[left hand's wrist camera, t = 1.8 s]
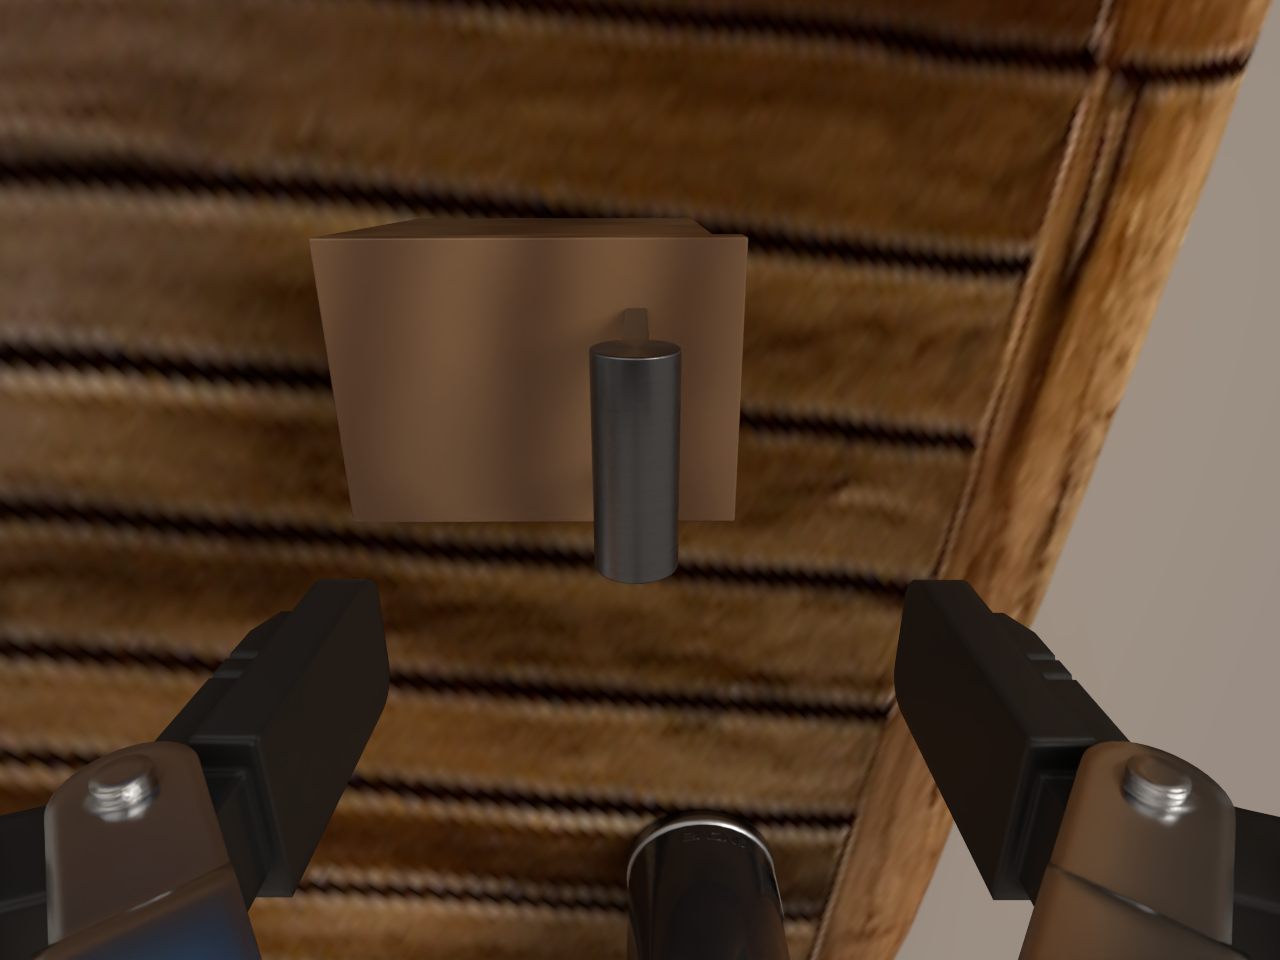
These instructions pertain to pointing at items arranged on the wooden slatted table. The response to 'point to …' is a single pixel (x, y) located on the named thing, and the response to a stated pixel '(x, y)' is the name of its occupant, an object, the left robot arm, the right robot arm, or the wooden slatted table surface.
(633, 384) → the lid
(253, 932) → the left robot arm
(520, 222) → the chest
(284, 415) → the wooden slatted table surface
